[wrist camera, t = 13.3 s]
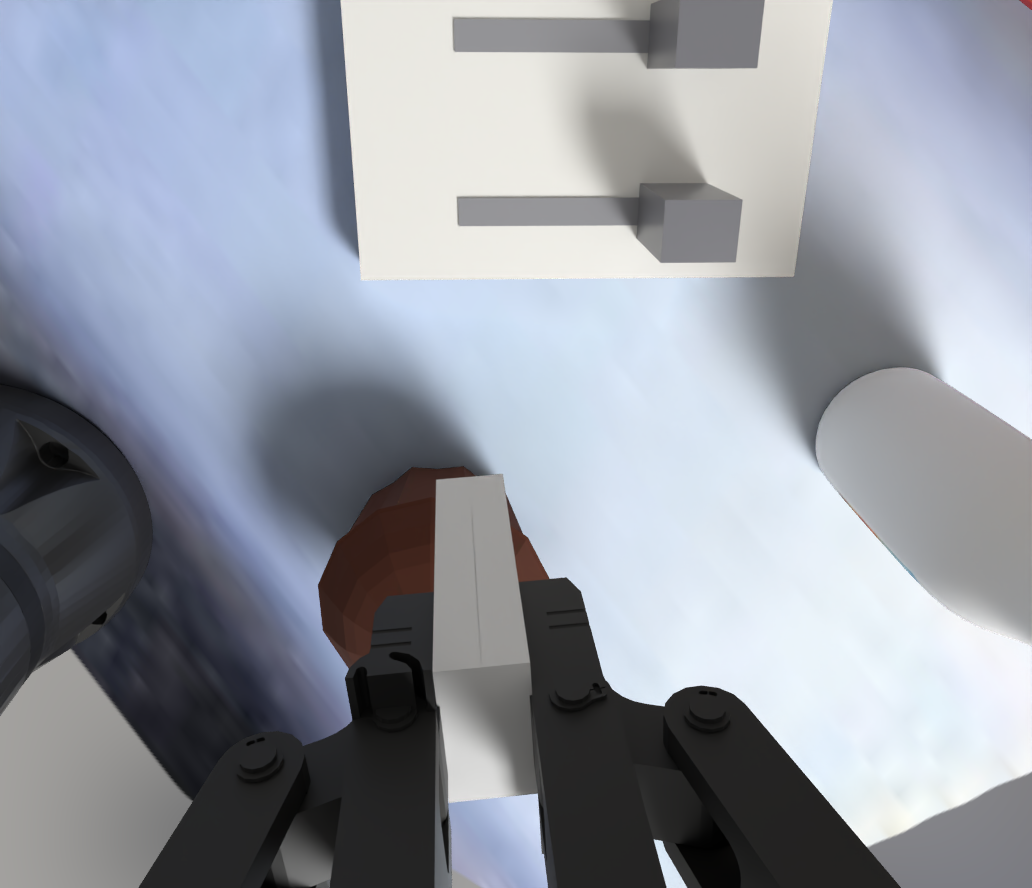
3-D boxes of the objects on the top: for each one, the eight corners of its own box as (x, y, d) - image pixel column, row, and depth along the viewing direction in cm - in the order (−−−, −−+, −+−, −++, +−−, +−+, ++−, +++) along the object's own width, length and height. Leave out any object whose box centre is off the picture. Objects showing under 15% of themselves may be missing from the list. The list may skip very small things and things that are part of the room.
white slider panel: (367, 268, 40) (344, 310, 33) (331, -253, 32) (290, -346, 25) (776, 265, 41) (840, 305, 34) (842, -242, 33) (944, -330, 26)
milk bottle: (781, 436, 45) (994, 686, 27) (896, 333, 43) (1212, 527, 24) (868, 519, 47) (1118, 800, 29) (981, 425, 45) (1326, 664, 27)
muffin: (331, 440, 44) (293, 537, 35) (541, 437, 44) (559, 532, 35) (348, 626, 48) (320, 754, 39) (538, 621, 49) (552, 747, 40)
